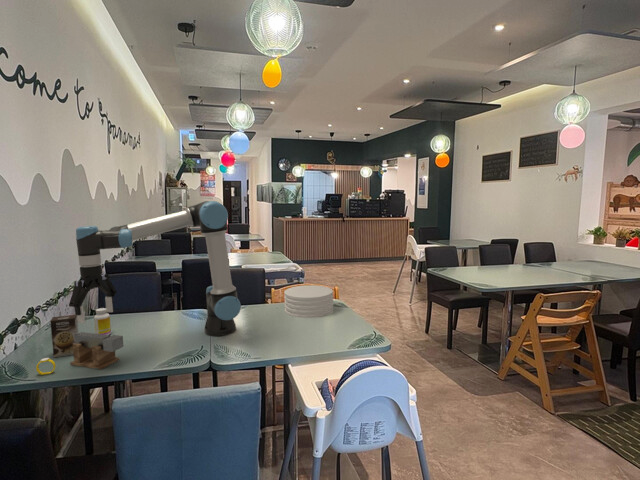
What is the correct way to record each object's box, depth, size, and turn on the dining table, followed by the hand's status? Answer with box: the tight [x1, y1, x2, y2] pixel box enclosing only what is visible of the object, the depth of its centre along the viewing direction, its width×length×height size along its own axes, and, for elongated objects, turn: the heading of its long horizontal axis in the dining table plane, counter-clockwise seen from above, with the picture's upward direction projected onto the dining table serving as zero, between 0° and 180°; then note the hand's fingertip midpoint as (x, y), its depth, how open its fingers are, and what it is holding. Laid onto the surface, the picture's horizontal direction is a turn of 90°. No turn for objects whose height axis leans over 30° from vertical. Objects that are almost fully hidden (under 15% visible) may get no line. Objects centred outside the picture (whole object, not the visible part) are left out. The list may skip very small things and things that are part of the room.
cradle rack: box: [70, 343, 121, 370], centre depth 159 cm, size 16×9×8 cm, turn 73°
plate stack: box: [283, 284, 334, 319], centre depth 225 cm, size 28×28×12 cm
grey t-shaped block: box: [74, 331, 124, 352], centre depth 157 cm, size 20×6×4 cm, turn 73°
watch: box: [35, 357, 57, 376], centre depth 149 cm, size 6×3×6 cm, turn 108°
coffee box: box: [49, 314, 79, 358], centre depth 168 cm, size 9×6×16 cm
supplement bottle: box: [93, 307, 112, 336], centre depth 190 cm, size 7×7×13 cm
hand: (96, 317), depth 156 cm, fingers open, 13 cm apart
